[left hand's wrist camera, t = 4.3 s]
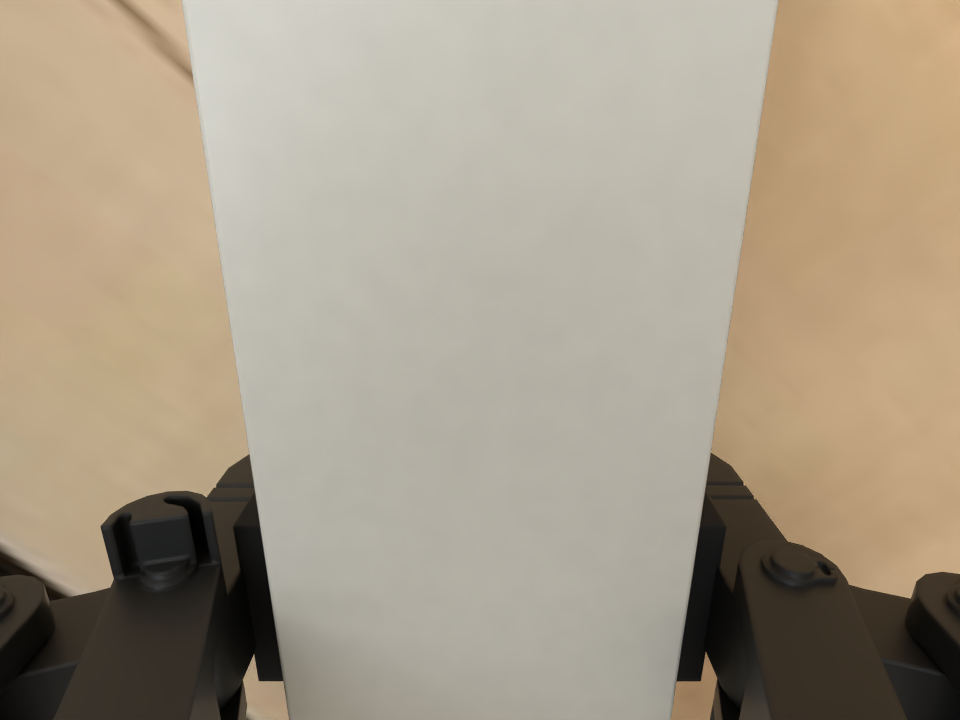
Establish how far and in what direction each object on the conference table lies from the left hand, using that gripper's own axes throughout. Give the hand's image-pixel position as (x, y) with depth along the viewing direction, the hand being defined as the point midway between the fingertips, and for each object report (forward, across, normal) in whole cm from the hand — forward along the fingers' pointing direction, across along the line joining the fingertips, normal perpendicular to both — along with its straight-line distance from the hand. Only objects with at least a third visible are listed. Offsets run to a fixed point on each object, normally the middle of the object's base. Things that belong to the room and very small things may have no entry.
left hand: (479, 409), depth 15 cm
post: (+1, 0, -30) cm, 31 cm away
